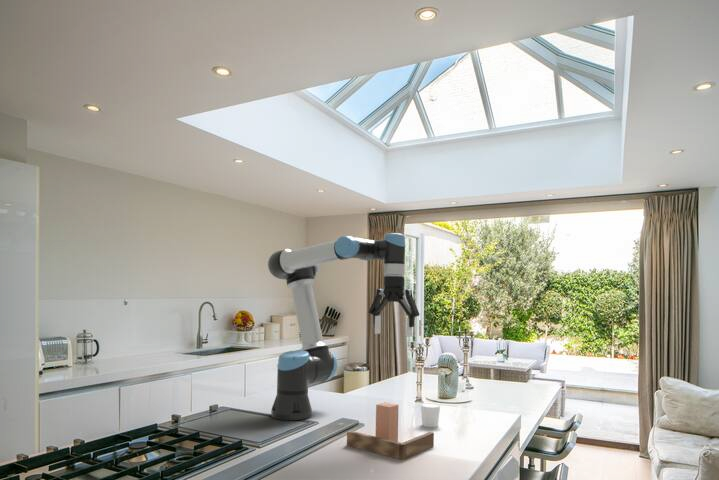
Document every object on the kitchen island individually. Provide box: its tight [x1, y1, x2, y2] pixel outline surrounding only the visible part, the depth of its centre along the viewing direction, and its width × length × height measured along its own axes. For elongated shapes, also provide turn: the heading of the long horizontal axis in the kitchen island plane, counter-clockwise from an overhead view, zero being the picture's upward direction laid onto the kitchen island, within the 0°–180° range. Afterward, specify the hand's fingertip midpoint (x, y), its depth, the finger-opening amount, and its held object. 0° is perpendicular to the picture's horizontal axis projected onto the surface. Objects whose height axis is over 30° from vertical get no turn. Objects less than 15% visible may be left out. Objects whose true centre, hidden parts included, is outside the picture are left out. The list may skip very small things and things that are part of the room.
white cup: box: [420, 403, 441, 428], centre depth 184 cm, size 7×7×7 cm
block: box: [374, 402, 399, 442], centre depth 159 cm, size 5×5×12 cm
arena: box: [346, 430, 435, 461], centre depth 158 cm, size 20×18×4 cm
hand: (393, 335), depth 184 cm, fingers open, 13 cm apart
